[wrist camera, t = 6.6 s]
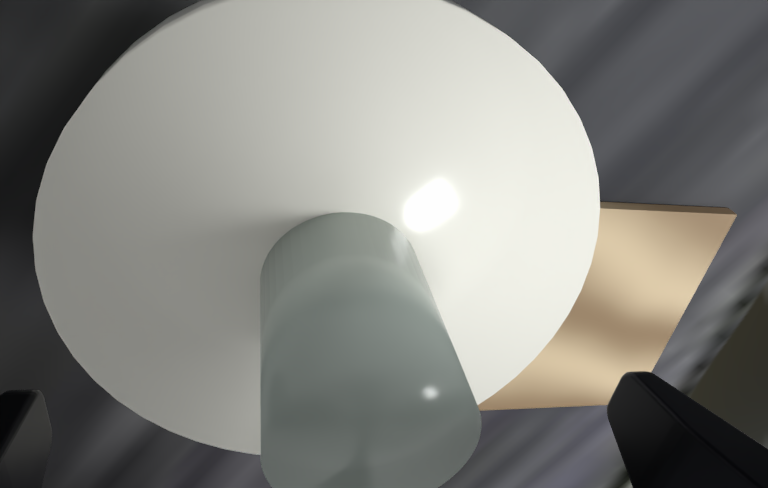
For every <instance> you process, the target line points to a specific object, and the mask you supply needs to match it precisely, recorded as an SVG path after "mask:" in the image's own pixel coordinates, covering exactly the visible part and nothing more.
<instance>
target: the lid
mask: <svg viewBox="0 0 768 488" xmlns="http://www.w3.org/2000/svg"><path fill="white" fill-rule="evenodd" d="M599 216H600V195H599V179H598V174H597V169H596V164H595V160H594V155H593V151H592V147H591V145H590V142H589V139H588V137H587V134H586V132H585V129H584V127H583V124H582V122H581V119H580V117H579V116H578V114H577V112H576V111H575V109H574V107H573V106H572V104H571V102H570V101H569V99H568V97H567V96H566V94H565V92H564V91H563V89H562V88H561V87H560V86H559V84H558V83H557V82H556V81H555V80H554V79H553V77H552V76H551V75H550V74H549V73H548V72H547V70H546V69H545V68H544V67H543V66H542V65H541V63H540V62H539V61H538V60H536V59H535V58H534V57H533V56H532V55H530V54H529V53H528V52H527V51H526V50H525V49H523V48H522V47H521V46H520V45H519V44H517V43H516V42H515V41H514V40H513V39H512V38H510V37H509V36H507V35H506V34H504V33H503V32H501V31H500V30H498V29H497V28H495V27H494V26H493V25H491V24H490V23H488V22H487V21H485V20H483V19H482V18H480V17H478V16H477V15H475V14H473V13H472V12H470V11H468V10H467V9H465V8H464V7H462V6H460V5H459V4H457V3H455V2H453V1H451V0H200V1H198V2H196V3H194V4H192V5H191V6H189V7H187V8H185V9H183V10H181V11H179V12H177V13H175V14H173V15H171V16H169V17H168V18H166V19H165V20H164V21H162V22H161V23H160V24H158V25H157V26H155V27H154V28H153V29H151V30H150V31H149V32H147V33H146V34H145V35H143V36H142V37H140V38H139V39H138V40H136V41H135V42H134V43H133V44H132V45H131V46H130V47H129V48H128V49H127V50H126V51H125V52H124V53H123V54H122V55H121V56H120V57H119V58H118V59H117V60H116V61H115V62H114V63H113V64H112V65H111V66H110V67H109V68H108V69H107V70H106V71H105V72H104V74H103V75H102V76H101V78H100V79H99V80H98V82H97V83H96V84H95V86H94V87H93V88H92V90H91V91H90V92H89V94H88V95H87V96H86V98H85V99H84V101H83V102H82V103H81V105H80V106H79V108H78V109H77V110H76V112H75V113H74V115H73V116H72V117H71V119H70V120H69V122H68V123H67V124H66V126H65V127H64V129H63V131H62V133H61V135H60V137H59V139H58V141H57V143H56V145H55V147H54V149H53V151H52V153H51V156H50V158H49V160H48V162H47V164H46V167H45V171H44V174H43V178H42V181H41V185H40V188H39V192H38V195H37V199H36V207H35V217H34V227H33V246H34V259H35V270H36V274H37V278H38V282H39V286H40V289H41V293H42V297H43V301H44V304H45V306H46V308H47V310H48V312H49V315H50V317H51V319H52V321H53V324H54V326H55V328H56V330H57V332H58V334H59V335H60V337H61V338H62V340H63V341H64V343H65V344H66V346H67V347H68V349H69V350H70V352H71V354H72V355H73V357H74V358H75V359H76V360H77V361H78V362H79V364H80V365H81V366H82V367H83V368H84V369H85V370H86V371H87V373H88V374H89V375H90V376H91V377H92V378H93V379H94V380H95V381H96V382H97V383H98V384H99V385H100V386H101V387H103V388H104V389H105V390H106V391H107V392H108V393H110V394H111V395H112V396H113V397H114V398H115V399H116V400H118V401H119V402H121V403H122V404H124V405H125V406H127V407H128V408H130V409H131V410H133V411H134V412H136V413H137V414H139V415H140V416H142V417H143V418H145V419H147V420H149V421H151V422H153V423H155V424H157V425H159V426H161V427H163V428H165V429H167V430H169V431H171V432H174V433H176V434H179V435H181V436H184V437H187V438H189V439H192V440H194V441H197V442H201V443H204V444H208V445H212V446H215V447H219V448H222V449H227V450H233V451H238V452H244V453H249V454H257V455H261V465H262V470H263V473H264V475H265V477H266V479H267V481H268V482H269V484H270V485H271V486H272V488H438V487H439V486H441V485H442V484H444V483H445V482H446V481H448V480H449V479H450V478H452V477H453V476H454V475H455V474H456V473H457V472H458V471H459V470H460V469H461V468H462V467H463V466H464V464H465V463H466V462H467V461H468V459H469V458H470V457H471V455H472V454H473V452H474V450H475V448H476V446H477V444H478V441H479V437H480V433H481V415H480V411H479V408H478V405H479V404H480V403H482V402H483V401H485V400H486V399H488V398H489V397H491V396H492V395H494V394H495V393H496V392H498V391H499V390H500V389H501V388H503V387H504V386H505V385H506V384H508V383H509V382H510V381H511V380H513V379H514V378H515V377H516V376H517V375H518V374H519V373H520V372H521V371H522V370H524V369H525V368H526V367H527V366H528V365H529V364H530V363H531V362H532V361H533V360H534V359H535V358H536V357H537V356H538V354H539V353H540V352H541V351H542V350H543V349H544V347H545V346H546V345H547V344H548V343H549V341H550V340H551V339H552V338H553V337H554V335H555V334H556V332H557V331H558V329H559V328H560V326H561V325H562V323H563V322H564V320H565V319H566V317H567V316H568V315H569V313H570V311H571V309H572V307H573V305H574V303H575V301H576V299H577V297H578V295H579V294H580V292H581V290H582V287H583V284H584V282H585V279H586V276H587V274H588V271H589V268H590V266H591V263H592V258H593V254H594V250H595V246H596V241H597V237H598V227H599Z"/></svg>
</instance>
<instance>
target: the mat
mask: <svg viewBox="0 0 768 488" xmlns="http://www.w3.org/2000/svg"><path fill="white" fill-rule="evenodd" d="M736 216H737V214H736V213H734V212H733V211H731V210H730V209H729V208H719V207H698V206H678V205H657V204H637V203H616V202H600V216H599V227H598V237H597V241H596V246H595V250H594V254H593V258H592V263H591V266H590V268H589V271H588V274H587V276H586V279H585V282H584V284H583V287H582V290H581V292H580V294H579V295H578V297H577V299H576V301H575V303H574V305H573V307H572V309H571V311H570V313H569V315H568V316H567V317H566V319H565V320H564V322H563V323H562V325H561V326H560V328H559V329H558V331H557V332H556V334H555V335H554V337H553V338H552V339H551V340H550V341H549V343H548V344H547V345H546V346H545V347H544V349H543V350H542V351H541V352H540V353H539V354H538V356H537V357H536V358H535V359H534V360H533V361H532V362H531V363H530V364H529V365H528V366H527V367H526V368H525V369H524V370H522V371H521V372H520V373H519V374H518V375H517V376H516V377H515V378H514V379H513V380H511V381H510V382H509V383H508V384H506V385H505V386H504V387H503V388H501V389H500V390H499V391H498V392H496V393H495V394H494V395H492V396H491V397H489V398H488V399H486V400H485V401H483V402H482V403H480V404H479V405H478V408H479V411H480V410H502V409H525V408H547V407H569V406H592V405H608V403H609V400H610V398H611V397H612V395H613V393H614V391H615V389H616V387H617V385H618V383H619V381H620V379H621V377H622V376H623V375H624V374H625V373H626V372H632V371H647V372H652V370H653V368H654V366H655V364H656V362H657V361H658V359H659V357H660V355H661V353H662V351H663V350H664V348H665V346H666V344H667V342H668V340H669V339H670V337H671V335H672V333H673V331H674V329H675V328H676V326H677V324H678V322H679V320H680V318H681V317H682V315H683V313H684V311H685V309H686V307H687V306H688V304H689V302H690V300H691V298H692V296H693V295H694V293H695V291H696V289H697V287H698V286H699V284H700V282H701V280H702V278H703V276H704V275H705V273H706V271H707V269H708V267H709V265H710V264H711V262H712V260H713V258H714V256H715V254H716V253H717V251H718V249H719V247H720V245H721V243H722V242H723V240H724V238H725V236H726V234H727V232H728V231H729V229H730V227H731V225H732V223H733V221H734V220H735V218H736Z"/></svg>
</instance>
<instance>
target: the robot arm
mask: <svg viewBox="0 0 768 488" xmlns="http://www.w3.org/2000/svg"><path fill="white" fill-rule="evenodd" d="M607 415H608V419H609V422H610V425H611V428H612V430H613V433H614V436H615V439H616V442H617V444H618V447H619V450H620V453H621V455H622V458H623V461H624V464H625V467H626V469H627V472H628V475H629V478H630V480H631V483H632V486H633V488H768V449H767V448H765V447H764V446H763V445H761V444H759V443H758V442H756V441H755V440H753V439H752V438H750V437H749V436H747V435H746V434H744V433H743V432H741V431H740V430H738V429H737V428H735V427H734V426H732V425H731V424H729V423H728V422H726V421H724V420H723V419H721V418H720V417H718V416H717V415H715V414H714V413H712V412H711V411H709V410H708V409H706V408H705V407H703V406H702V405H700V404H699V403H697V402H695V401H694V400H692V399H691V398H689V397H688V396H686V395H685V394H683V393H682V392H680V391H679V390H677V389H676V388H674V387H673V386H671V385H670V384H668V383H667V382H665V381H664V380H662V379H661V378H659V377H658V376H656V375H655V374H653V373H651V372H647V371H632V372H626V373H625V374H624V375H623V376H622V377H621V379H620V381H619V383H618V385H617V387H616V389H615V391H614V393H613V395H612V397H611V398H610V400H609V403H608V406H607ZM51 442H52V429H51V425H50V420H49V416H48V412H47V408H46V404H45V400H44V396H43V394H42V393H41V392H40V391H39V390H10V391H6V392H4V393H3V394H1V395H0V488H42V483H43V479H44V475H45V470H46V466H47V461H48V457H49V453H50V448H51Z"/></svg>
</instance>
